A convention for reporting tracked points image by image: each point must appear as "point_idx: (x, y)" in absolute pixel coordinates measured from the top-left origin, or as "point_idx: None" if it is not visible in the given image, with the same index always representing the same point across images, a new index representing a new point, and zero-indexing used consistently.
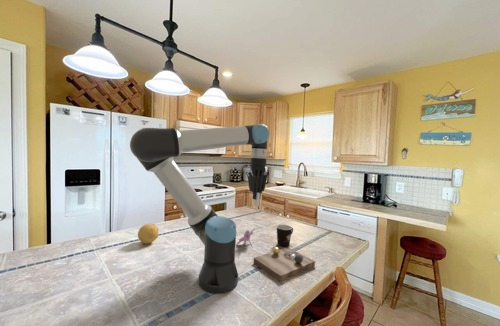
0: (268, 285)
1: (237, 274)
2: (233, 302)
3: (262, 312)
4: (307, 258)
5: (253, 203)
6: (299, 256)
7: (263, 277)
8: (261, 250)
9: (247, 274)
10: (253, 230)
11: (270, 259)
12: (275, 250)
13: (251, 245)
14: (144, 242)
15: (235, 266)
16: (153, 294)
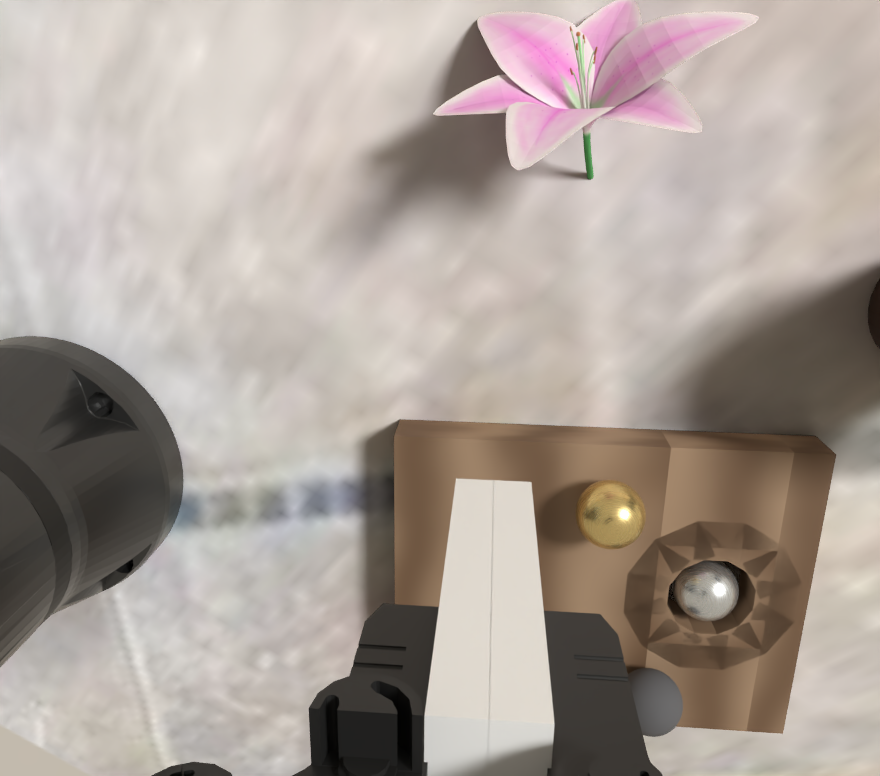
0: (314, 659)
1: (143, 553)
2: (63, 651)
3: (157, 767)
4: (775, 680)
5: (452, 505)
6: (650, 731)
7: (341, 590)
8: (626, 278)
9: (266, 508)
10: (673, 122)
11: None
12: (585, 535)
13: (587, 165)
14: None
15: (93, 583)
16: None
